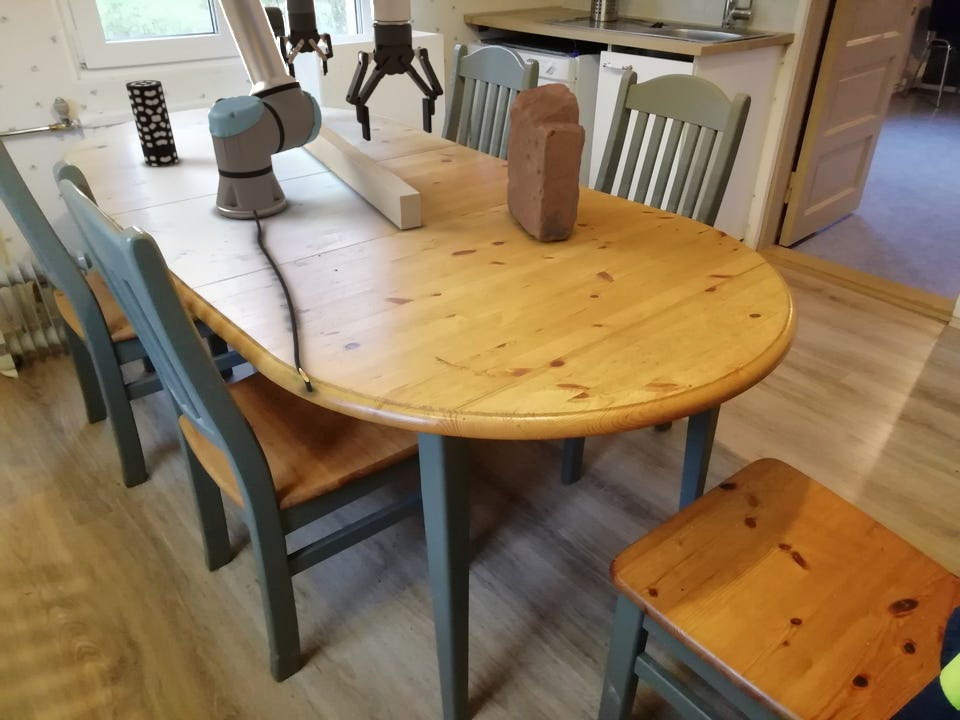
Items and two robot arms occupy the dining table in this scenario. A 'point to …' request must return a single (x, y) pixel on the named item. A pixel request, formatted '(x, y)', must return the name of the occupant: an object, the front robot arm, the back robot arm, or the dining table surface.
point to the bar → (368, 178)
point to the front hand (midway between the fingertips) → (397, 135)
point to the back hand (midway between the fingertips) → (308, 76)
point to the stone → (545, 160)
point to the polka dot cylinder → (152, 122)
